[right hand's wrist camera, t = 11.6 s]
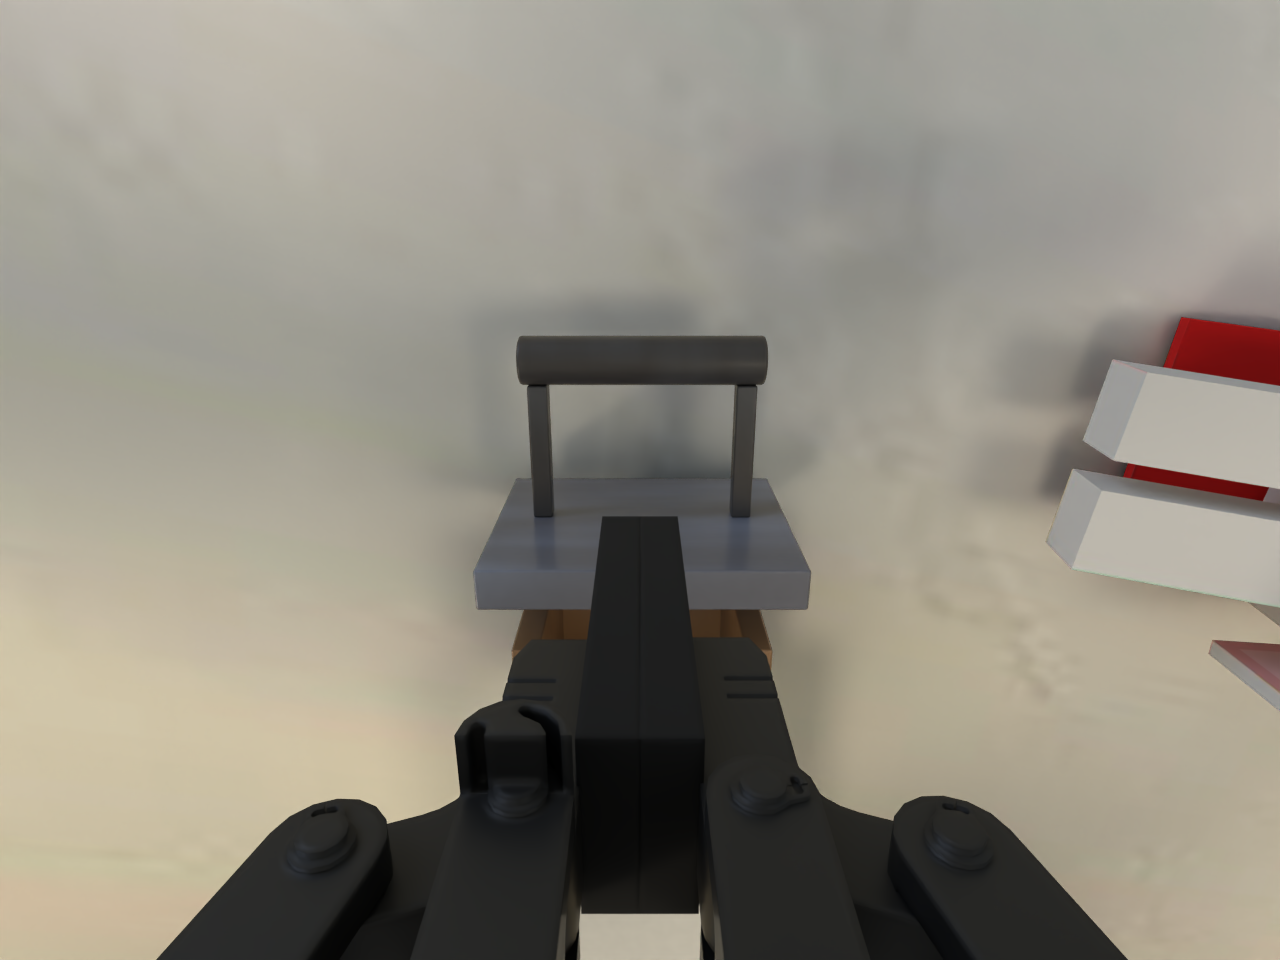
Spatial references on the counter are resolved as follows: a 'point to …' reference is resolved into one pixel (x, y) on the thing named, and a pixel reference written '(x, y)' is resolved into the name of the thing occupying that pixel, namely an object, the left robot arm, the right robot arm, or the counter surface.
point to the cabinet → (640, 936)
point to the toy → (1189, 481)
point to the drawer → (642, 499)
